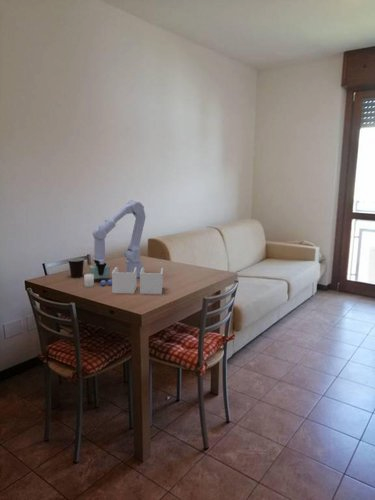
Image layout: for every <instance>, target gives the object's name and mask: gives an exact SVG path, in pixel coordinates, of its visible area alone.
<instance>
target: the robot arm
mask: <svg viewBox="0 0 375 500" xmlns="http://www.w3.org/2000/svg"><path fill="white" fill-rule="evenodd" d="M129 214H132V215H133V216H134V218H135V221H134V226H133V230H132V233H131V239H130V243H129V245H128V246H127V248H126V250H125V251H124V257H125V259H126V260H125V263H126V265H125V273H133V272H134V267H136V269H137V278H139V279H140V272H141V269H142V268H144V267H143V266H144V265H143V264H144V263H143V261H140V260H141V249H140V243H141V239H142V236H143V235H142V234H143V230H144V225H145V221H146V217H147V216H146V213H145V206H144V205H143V204H142V203H141V202H139V201H135V200H129V201H128V202H127V203H125V204H124V205H123V206H122V207H121V208H120V210H118V211H117V212H116V214H114V216H112V217H111V218H107V219H104V222H102V224H101V225H98V227H97V228H95V229H94V230H93V232H92V236H93V239H94V243H93V245H94V249H93V250H94V257H92V260H93V262H94V265H97V268H98V273H99V275H103V273H104V268H105V266H106V265H107V263H106V262H105V261H106V259H107V258H106V241H105V240H106V238H107V235H108V234H109V233H110V232H111V231H112V230H113V229H114V228H116V227H117V226H116V224H117V223H118V222H119V221H120V220H121V219H122V218H124V217H125V216H127V215H129Z"/></svg>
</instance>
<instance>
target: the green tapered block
mask: <svg viewBox="0 0 375 500" xmlns="http://www.w3.org/2000/svg"><path fill="white" fill-rule="evenodd" d="M89 274H94V280H95V279H107V278H111V275H110V274H111V269H110V266H109V264H106V266H105V268H104V273H103V275H99V273H98V268H97V265H96V264H94V265H90V266H89Z"/></svg>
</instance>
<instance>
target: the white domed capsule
mask: <svg viewBox="0 0 375 500" xmlns="http://www.w3.org/2000/svg"><path fill="white" fill-rule="evenodd" d="M83 279H84V281H83V283H84V287H85V288H90V287H91V288H92V287H94V286H95V279H94V274H90V273H85V274H83Z"/></svg>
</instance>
